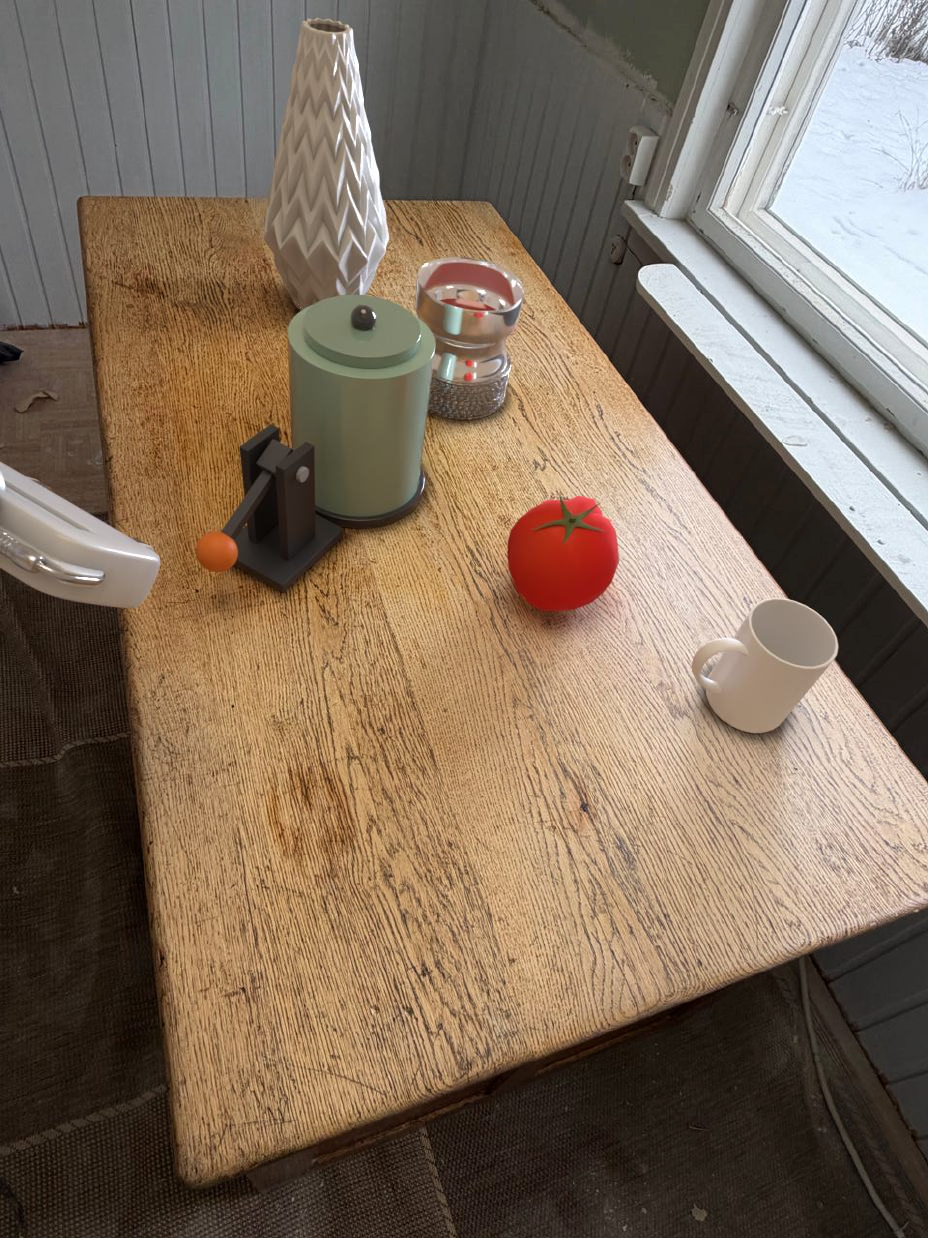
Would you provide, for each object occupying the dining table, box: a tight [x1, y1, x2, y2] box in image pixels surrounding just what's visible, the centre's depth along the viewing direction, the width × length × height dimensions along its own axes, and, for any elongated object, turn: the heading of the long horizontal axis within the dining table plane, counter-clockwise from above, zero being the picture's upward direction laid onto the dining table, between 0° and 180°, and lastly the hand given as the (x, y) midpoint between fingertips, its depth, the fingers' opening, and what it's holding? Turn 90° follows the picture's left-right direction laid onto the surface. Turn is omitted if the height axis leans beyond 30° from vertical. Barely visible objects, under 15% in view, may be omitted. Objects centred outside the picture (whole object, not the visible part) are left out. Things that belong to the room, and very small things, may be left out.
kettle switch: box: [195, 439, 293, 573], centre depth 70 cm, size 13×4×4 cm, turn 150°
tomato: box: [506, 495, 620, 612], centre depth 77 cm, size 11×13×10 cm
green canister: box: [286, 294, 436, 529], centre depth 80 cm, size 15×15×21 cm
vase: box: [263, 17, 390, 312], centre depth 99 cm, size 17×17×33 cm
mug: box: [691, 597, 839, 734], centre depth 71 cm, size 12×8×10 cm, turn 102°
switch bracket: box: [233, 423, 344, 593], centre depth 75 cm, size 10×8×13 cm
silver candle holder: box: [414, 256, 525, 421], centre depth 98 cm, size 13×18×15 cm
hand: (91, 524), depth 54 cm, fingers open, 8 cm apart
